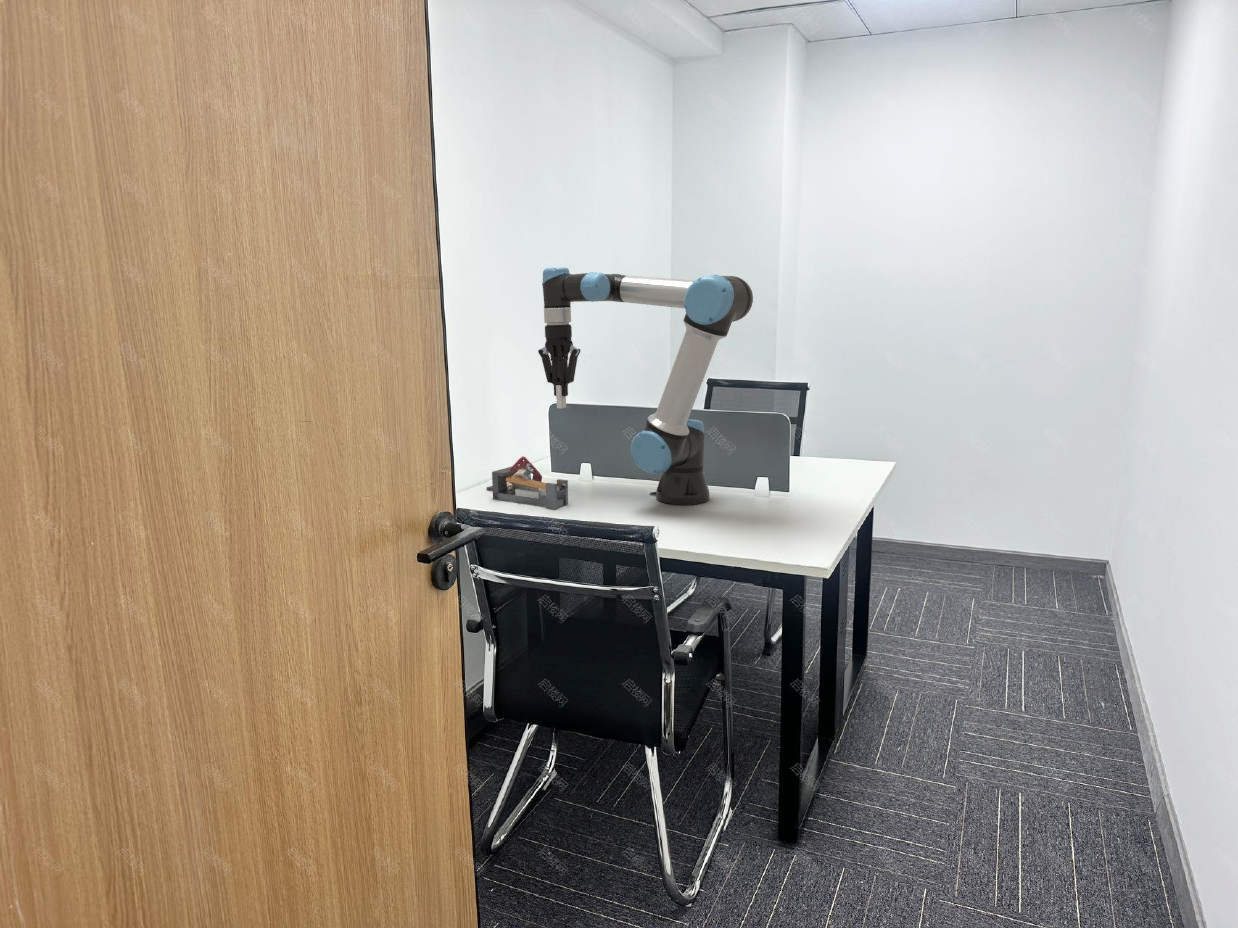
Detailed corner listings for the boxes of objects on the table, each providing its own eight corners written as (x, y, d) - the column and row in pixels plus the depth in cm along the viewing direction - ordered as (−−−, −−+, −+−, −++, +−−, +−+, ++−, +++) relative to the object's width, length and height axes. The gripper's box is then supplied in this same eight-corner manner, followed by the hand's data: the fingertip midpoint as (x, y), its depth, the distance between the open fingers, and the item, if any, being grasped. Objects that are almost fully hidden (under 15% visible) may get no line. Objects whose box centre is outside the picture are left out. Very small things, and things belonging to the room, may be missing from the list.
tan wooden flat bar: (562, 490, 232) (562, 485, 232) (555, 492, 229) (555, 488, 229) (512, 479, 240) (512, 474, 240) (505, 481, 238) (505, 476, 237)
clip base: (568, 504, 234) (567, 476, 232) (555, 509, 228) (554, 480, 227) (504, 495, 245) (503, 468, 243) (490, 499, 240) (489, 472, 238)
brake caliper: (548, 480, 253) (541, 454, 244) (541, 509, 246) (533, 483, 237) (512, 479, 255) (503, 453, 246) (503, 508, 248) (494, 481, 239)
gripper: (584, 323, 236) (587, 406, 240) (545, 324, 242) (549, 405, 247) (570, 324, 230) (574, 409, 234) (531, 324, 236) (535, 408, 240)
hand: (561, 407), depth 240 cm, fingers closed
